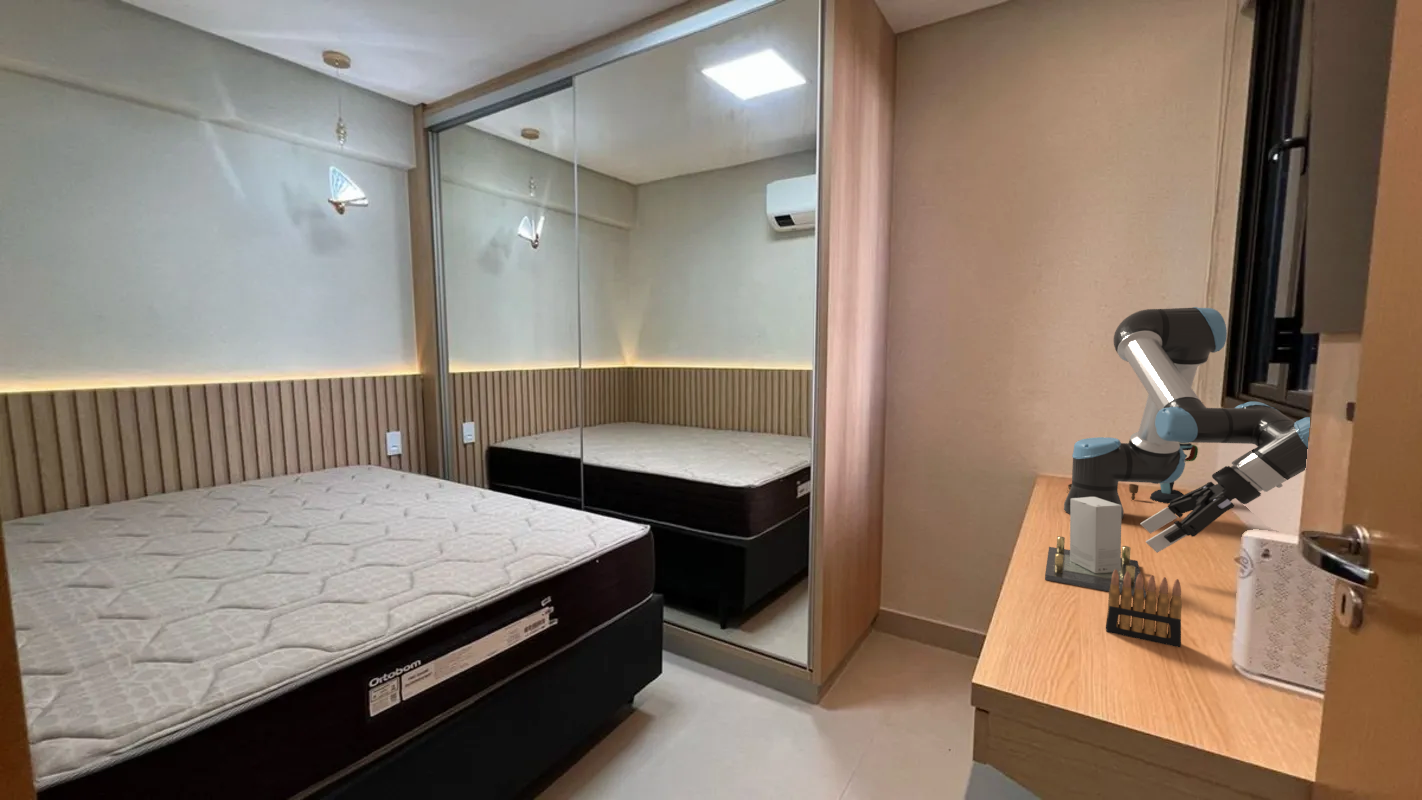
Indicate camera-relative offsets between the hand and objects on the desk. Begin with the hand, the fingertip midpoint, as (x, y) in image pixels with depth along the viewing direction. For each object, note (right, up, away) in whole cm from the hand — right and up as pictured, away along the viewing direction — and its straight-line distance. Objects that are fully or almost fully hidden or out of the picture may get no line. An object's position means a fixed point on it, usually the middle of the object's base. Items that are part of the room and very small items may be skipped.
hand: (1147, 537), depth 122 cm
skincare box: (-8, -9, +6) cm, 13 cm away
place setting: (+38, -3, +71) cm, 80 cm away
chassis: (-8, -10, +6) cm, 14 cm away
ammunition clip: (-18, -13, -21) cm, 31 cm away
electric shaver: (+56, -3, +61) cm, 83 cm away
